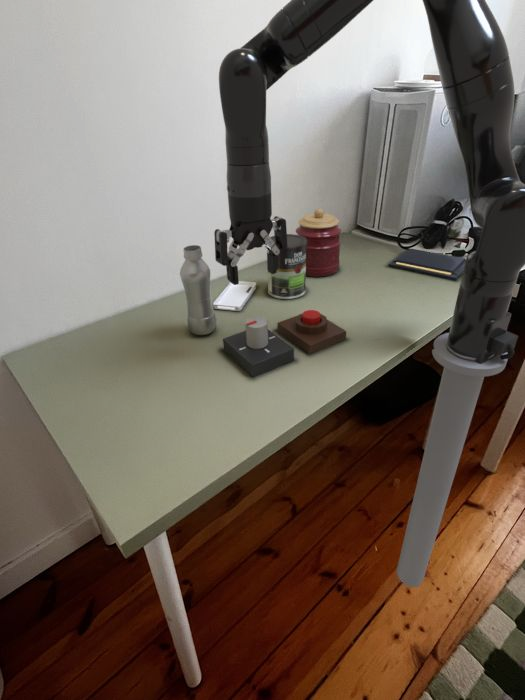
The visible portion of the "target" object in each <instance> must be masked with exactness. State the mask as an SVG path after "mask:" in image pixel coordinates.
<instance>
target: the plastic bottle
mask: <svg viewBox="0 0 525 700" xmlns="http://www.w3.org/2000/svg"><path fill="white" fill-rule="evenodd" d="M182 251H183V259H184V261H183V263H182V265H181V266H180V270H179V277H180V280H181V283H182V286H183V289H184V294H185V299H186V305H187V306H186V307H187V323H186V324H187V326H188V329H189V331H190V332H191V333H192V334H193V335H196V336H204V335H209V334H211V333H212V332H214V331H215V329H216V327H217V315H216V313H215V310H214V307H213V301H212V295H211V292H212V291H211V269H210V267H209V265H208V263H207V262H206V260H204V259H203V252H202V251H203V250H202V246H200V245H197V244H193V245H187V246H184V248H183V249H182Z"/></svg>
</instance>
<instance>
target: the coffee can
mask: <svg viewBox="0 0 525 700" xmlns="http://www.w3.org/2000/svg"><path fill="white" fill-rule="evenodd" d="M270 238H271V239H272V240H273V241H274V243H275V235H272V236H270ZM306 244H307V239H306V238H305V237H303V236H299V235H297V234H292V233H287V249H286V250H282V251H280V253H279V254H278V270H277V272H276V273H275V274H271V273H270V272H268V271H267V293H268V295H270V296H271V297H273V298H275V299H279V300H294V299H297V298H300V297H302V296H304V295H305V294H306V292H307V290H306V289H307V288H306V282H307V280H306V279H307V278H306V277H307V275H306ZM267 253H269V251H268V250H267V249H266V254H267Z"/></svg>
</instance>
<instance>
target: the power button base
mask: <svg viewBox="0 0 525 700" xmlns="http://www.w3.org/2000/svg"><path fill="white" fill-rule="evenodd" d="M320 314H321V318H320V323H318V324H316V325H308V324H304V323H303V322H302V313H299V314H298V315H295V316H293V317H292V316H291V317H289V318H286V319H284V320H281V321H278V322H277V324H276V325H277V326H276V327H277V329H276V330H277V332H278V333H279V334H281V335H283V336H284V337H285V338H287V339H288V340H289V341H291V342H292V343H294V344H295V345H296V346H298V347H299V348H300V349H302V351H304V352H306V353H307V354H309V355H311V354H313V353H316V352H318V351H321V350H323V349H326V348H328V347H331V346H333V345H336V344H338V343H340V342H343V341H345V340H346V339H347V330H345V329H344V328H342V327H341V326H339V325H337V324H335V323H334V322H332V321H330V320H329V319H328V318H327V316H326V315H324V314H322V313H320Z"/></svg>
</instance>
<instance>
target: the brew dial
mask: <svg viewBox="0 0 525 700" xmlns="http://www.w3.org/2000/svg"><path fill="white" fill-rule="evenodd" d="M268 330H269V325H268V319H267V318H265V317H263V316H253V317H249V318H248V319H246V321H245V331H246V338H247V345H248V346H249V347H250V348H253V349H260V348H264V347H266V346H267V345H268Z"/></svg>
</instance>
